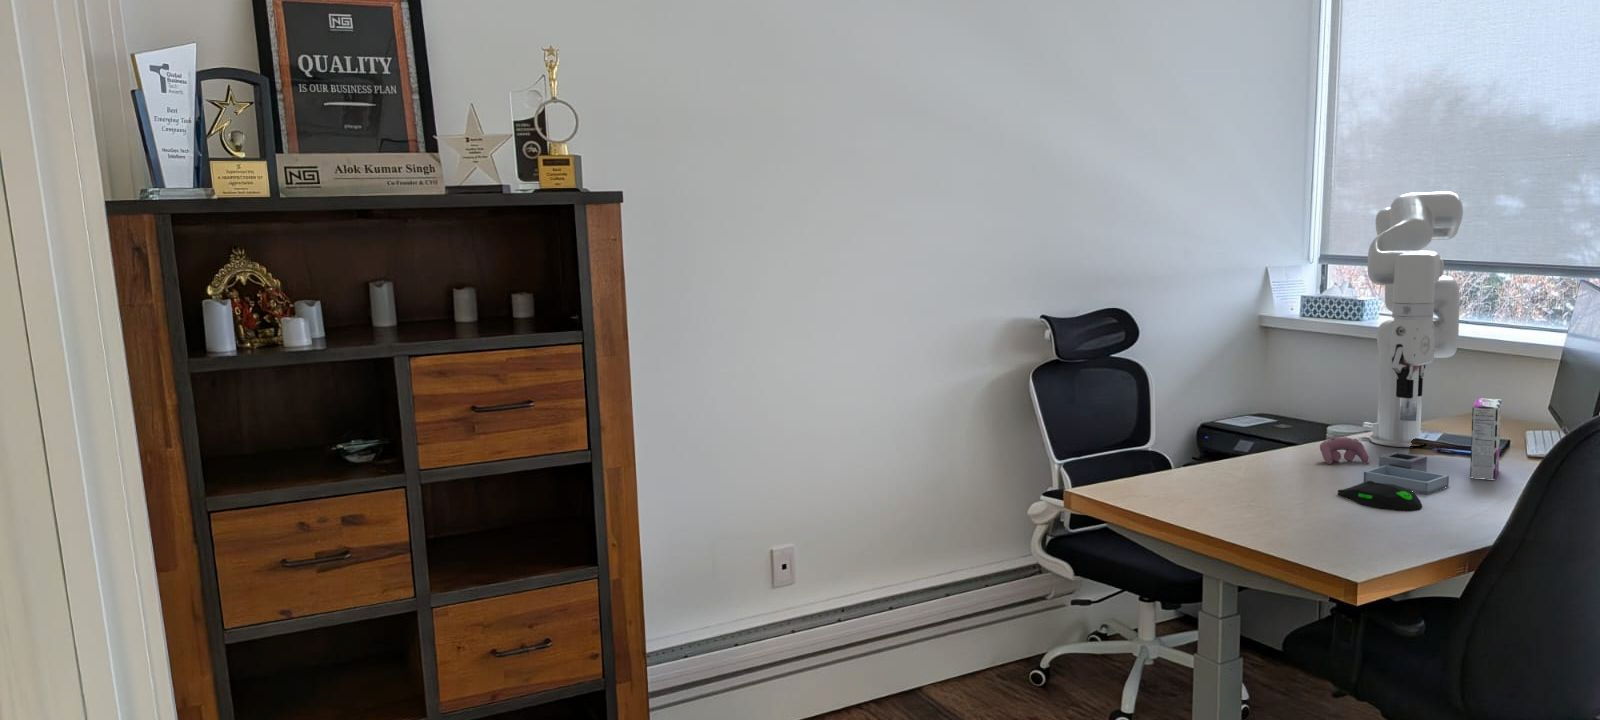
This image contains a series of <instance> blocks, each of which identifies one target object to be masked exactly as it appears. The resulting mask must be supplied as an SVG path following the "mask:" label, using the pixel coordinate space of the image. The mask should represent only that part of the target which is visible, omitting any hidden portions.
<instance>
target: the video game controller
mask: <svg viewBox="0 0 1600 720" xmlns="http://www.w3.org/2000/svg"><path fill="white" fill-rule="evenodd" d="M1319 450H1320V452H1321V455H1322V458H1323V460H1324V462H1325V463H1326V464H1327V465H1331V464H1332V462H1339V461H1340V460H1341V459H1342V454H1341V453H1340V451H1345V452H1344V453H1343V459H1344V460H1345V461H1346V462H1352V461H1354V460H1355V458H1356V456H1357V457H1358V458H1359V459H1360V461H1361V462H1362V463H1363V464H1365V465H1367V464H1369V460H1370V459H1369V454H1368V453H1367V450H1366V449H1365V446H1364V445H1363V443H1362V442H1361V441H1360V440H1359V439H1358V438H1350V437H1347V436H1346V437H1345V436H1341V437H1340V436H1339V437H1337V436H1336V437H1332V438H1329V439H1325V440H1324V441H1323V442H1321V443H1320V445H1319Z"/></svg>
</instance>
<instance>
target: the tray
mask: <svg viewBox="0 0 1600 720" xmlns="http://www.w3.org/2000/svg"><path fill="white" fill-rule="evenodd" d="M1449 477H1450V476H1449V475H1448V474H1441V473H1436V472H1435V473H1434V472H1430V471H1426V472H1424V471H1418V470H1412V469H1406V468H1400V467H1394V466H1388V465H1384V466H1381V467H1379V466H1378V467H1374V468H1372V469H1368V470H1365V471H1363V480H1362V481H1363V482H1362V483H1365V482H1367V481H1373V482H1375V483H1382V484H1393V485H1397V486H1400V487H1403V488H1406V489H1409V490H1410V491H1413V492H1414V493H1416V492H1419V493H1418V494H1421V493H1423V494H1422V495H1426V494H1427V495H1430V494H1432V492H1433V493H1435V492H1434V491H1436V492H1438V491H1437V490H1439V491H1440V489H1441V490H1444V489H1446V488H1445V487H1447V488H1449V481H1450V479H1449ZM1443 488H1444V489H1443ZM1429 493H1430V494H1429Z"/></svg>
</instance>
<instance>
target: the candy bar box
mask: <svg viewBox="0 0 1600 720" xmlns="http://www.w3.org/2000/svg"><path fill="white" fill-rule="evenodd" d="M1471 409H1472V414H1471V416H1472V417H1471V438H1470V439H1471V444H1470V447H1471V448H1470V451H1471V452H1470V467H1469V469H1470V471H1469V477H1473V478H1485V479H1495V478H1496V479H1497V476H1498V472H1499V467H1500V445H1501V443H1500V440H1501V439H1500V438H1501V421H1502V420H1501V415H1502V399H1500V398H1483V397H1477V398H1476V399H1475V401H1474V404H1473V406H1472V408H1471ZM1473 478H1472V479H1473ZM1496 479H1495V480H1496Z"/></svg>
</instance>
